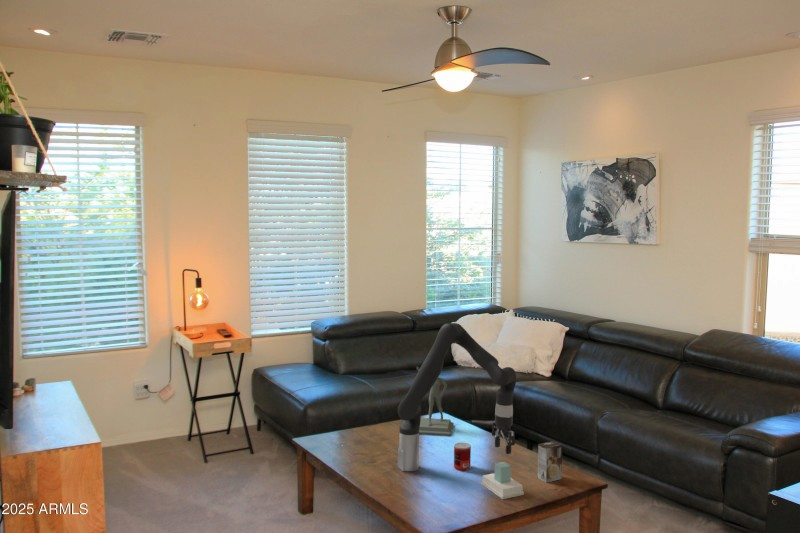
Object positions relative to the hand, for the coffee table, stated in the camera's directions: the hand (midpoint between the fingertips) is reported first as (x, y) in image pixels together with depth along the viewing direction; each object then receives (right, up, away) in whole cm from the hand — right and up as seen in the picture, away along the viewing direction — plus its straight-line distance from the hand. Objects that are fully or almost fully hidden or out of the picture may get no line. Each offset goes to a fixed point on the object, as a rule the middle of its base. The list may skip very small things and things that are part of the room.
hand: (502, 450), depth 287 cm
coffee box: (+23, -17, +13) cm, 32 cm away
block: (0, -13, +1) cm, 14 cm away
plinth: (0, -17, +2) cm, 18 cm away
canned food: (-15, -16, +25) cm, 33 cm away
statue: (-26, -11, +80) cm, 85 cm away
